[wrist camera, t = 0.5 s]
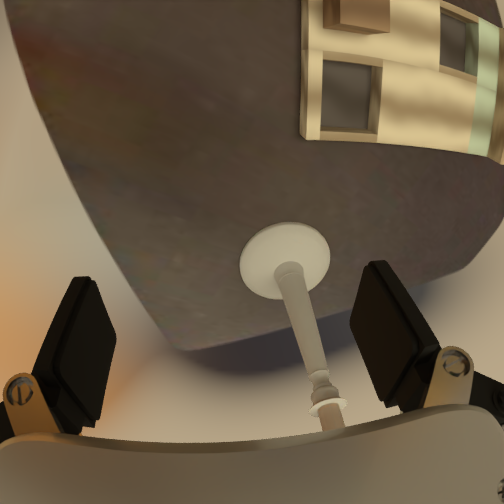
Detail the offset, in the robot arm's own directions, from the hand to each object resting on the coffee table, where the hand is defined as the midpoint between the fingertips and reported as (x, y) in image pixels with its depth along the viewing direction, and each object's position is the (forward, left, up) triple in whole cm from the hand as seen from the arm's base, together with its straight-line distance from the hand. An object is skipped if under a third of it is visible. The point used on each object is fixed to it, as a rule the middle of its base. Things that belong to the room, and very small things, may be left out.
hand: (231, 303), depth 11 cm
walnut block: (-14, +13, -25) cm, 31 cm away
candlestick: (+19, +8, -28) cm, 34 cm away
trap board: (-9, +23, -28) cm, 37 cm away
